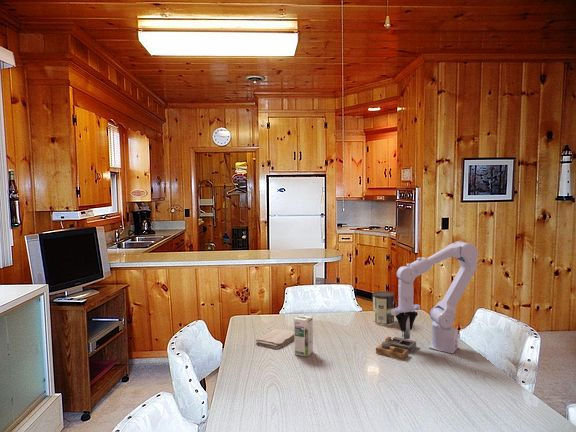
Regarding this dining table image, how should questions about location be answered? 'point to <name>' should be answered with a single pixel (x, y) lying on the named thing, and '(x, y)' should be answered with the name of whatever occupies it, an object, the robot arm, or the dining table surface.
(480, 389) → the dining table surface
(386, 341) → the drift key
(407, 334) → the metallic rounded cylinder
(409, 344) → the socket block
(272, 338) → the washcloth
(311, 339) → the syrup box
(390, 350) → the frame
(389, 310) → the coffee can
